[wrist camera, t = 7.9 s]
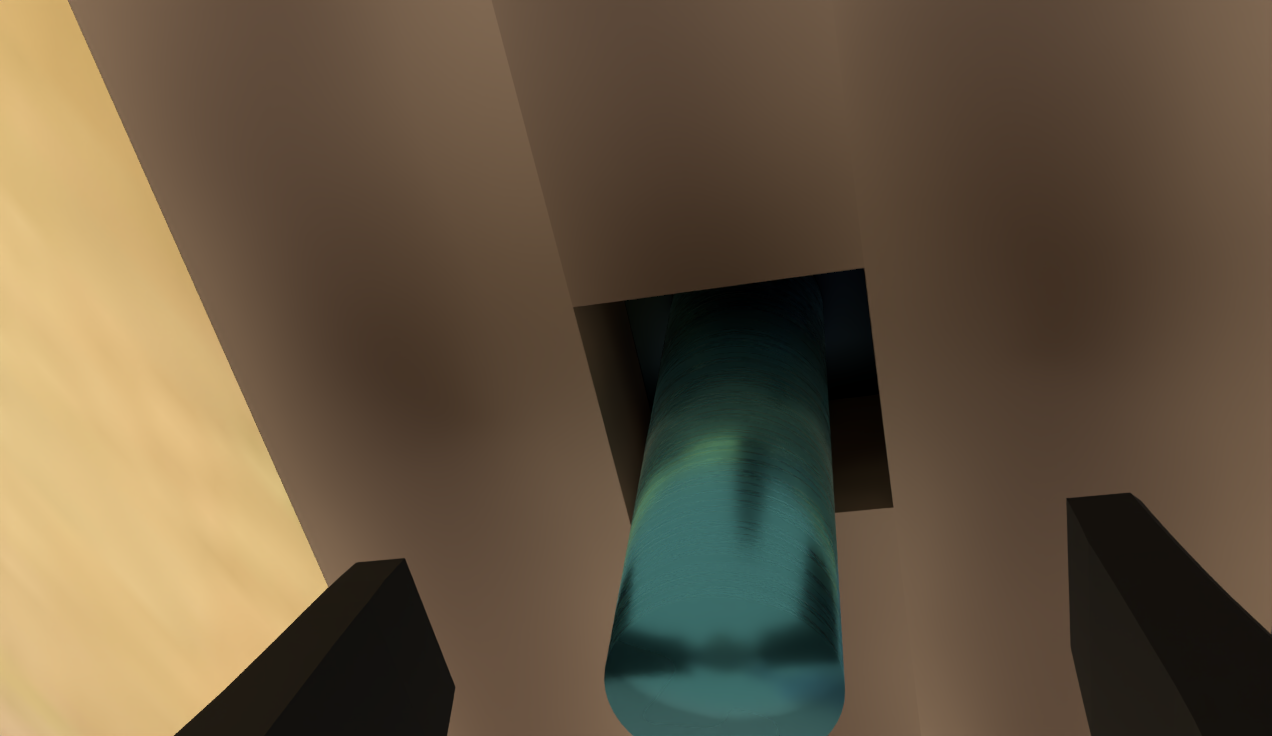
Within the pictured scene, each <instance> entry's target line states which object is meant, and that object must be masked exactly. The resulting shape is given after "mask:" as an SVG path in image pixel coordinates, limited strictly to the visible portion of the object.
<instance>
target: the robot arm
mask: <svg viewBox="0 0 1272 736" xmlns="http://www.w3.org/2000/svg"><path fill="white" fill-rule="evenodd" d="M1066 509H1067V543H1068V577H1069V612H1070V646H1071V652H1072V656H1073V660H1074V665H1075V669H1076V674H1077V678H1078V682H1079V687H1080V691H1081V696H1082V700H1083V704H1084V708H1085V712H1086V717H1087V721H1088V725H1089V729H1090V733H1091V736H1272V634H1270V633H1269V632H1268V631H1267V630H1266V629H1265V628H1264V627H1263V626H1262V625H1261V624H1260V623H1259V622H1258V621H1257V620H1256V619H1255V618H1253V617H1252V616H1251V615H1250V614H1249V613H1248V612H1247V611H1246V610H1245V609H1244V608H1243V607H1242V606H1241V605H1240V604H1239V603H1238V602H1236V601H1235V600H1234V599H1233V598H1232V597H1231V596H1230V595H1229V594H1228V593H1227V592H1226V591H1225V590H1224V589H1223V588H1222V587H1221V586H1220V585H1219V584H1218V583H1217V582H1216V581H1215V580H1214V579H1213V578H1212V577H1211V576H1210V575H1209V574H1208V573H1207V572H1206V571H1205V570H1204V569H1203V568H1202V566H1201V565H1200V564H1199V563H1198V562H1197V561H1196V560H1195V559H1194V558H1193V557H1192V556H1191V555H1190V554H1189V553H1188V552H1187V551H1186V550H1185V549H1184V548H1183V547H1182V546H1181V545H1180V543H1179V542H1178V541H1177V540H1176V539H1175V538H1174V537H1173V536H1172V535H1171V534H1170V533H1169V532H1168V530H1167V529H1166V528H1165V527H1164V526H1163V525H1162V524H1161V523H1160V522H1159V520H1158V519H1157V518H1156V517H1155V516H1154V515H1153V514H1152V513H1151V511H1150V510H1149V509H1148V508H1147V507H1146V506H1145V504H1144V503H1143V502H1142V501H1141V500H1139V499H1138V498H1137V497H1136V496H1134V495H1133V494H1132V493H1130V492H1129V493H1118V494H1107V495H1096V496H1085V497H1074V498H1066ZM454 693H455V684H454V682H453V679H452V677H451V674H450V672H449V669H448V667H447V664H446V662H445V659H444V656H443V654H442V651H441V649H440V646H439V644H438V641H437V639H436V636H435V633H434V631H433V628H432V626H431V623H430V621H429V618H428V616H427V613H426V610H425V608H424V605H423V603H422V600H421V598H420V595H419V593H418V590H417V588H416V585H415V582H414V580H413V577H412V575H411V572H410V570H409V567H408V565H407V562H406V559H405V558H399V559H388V560H377V561H366V562H356V563H355V564H354V565H353V566H351V567H350V568H349V569H348V570H347V571H346V572H345V573H343V574H342V575H341V576H340V577H339V578H338V579H337V580H336V581H335V582H334V583H333V584H332V585H331V586H330V587H329V588H327V589H326V590H325V591H324V592H323V593H322V594H321V595H320V596H319V597H318V598H317V599H316V600H315V601H314V602H313V603H312V604H311V605H310V606H309V607H308V608H307V609H306V610H305V611H304V612H303V613H302V614H301V615H300V616H299V617H298V618H297V619H296V620H295V621H294V622H293V623H292V624H291V625H290V626H289V627H288V628H287V629H286V630H285V631H284V632H283V633H282V634H281V635H280V636H279V637H278V638H277V639H276V640H275V641H274V642H273V643H272V644H271V645H270V646H269V647H268V648H267V649H266V650H265V651H264V652H263V653H262V654H261V655H260V656H259V657H257V658H256V659H255V660H254V661H253V662H252V663H251V664H250V665H249V666H248V667H247V668H246V669H245V670H244V671H243V672H242V673H241V674H240V675H239V676H238V677H237V678H236V679H235V680H234V681H233V682H232V683H231V684H230V685H229V686H228V687H227V688H226V689H225V690H224V691H223V692H222V693H220V694H219V695H218V696H217V697H216V698H215V699H214V700H213V701H212V702H211V703H209V704H208V705H207V706H206V707H205V708H204V709H203V710H202V711H201V712H200V713H198V714H197V715H196V716H195V717H194V718H193V719H192V720H191V721H190V722H189V723H187V724H186V725H185V726H184V727H183V728H182V729H181V730H180V731H179V732H178V733H176V734H175V735H174V736H447V734H448V728H449V723H450V717H451V711H452V705H453V699H454Z"/></svg>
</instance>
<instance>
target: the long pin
mask: <svg viewBox="0 0 1272 736" xmlns="http://www.w3.org/2000/svg"><path fill="white" fill-rule="evenodd" d="M604 684H605V692H606V695H607V699H608V702H609V704H610V706H611V708H612V710H613V712H614V714H615V715H616V717H617V718H618V720H619V721H620V723H621V724H622V725H623V726H624V727H625V728H626V729H627V731H628V732H629V733H631V734H632V735H633V736H827V735H828V734H829V733H830V732H831V731H832V729H833V728H834V726H835V725H836V723H837V722H838V720H839V717H840V715H841V713H842V709H843V705H844V701H845V679H844V662H843V644H842V627H841V609H840V592H839V575H838V557H837V540H836V523H835V505H834V488H833V470H832V453H831V436H830V418H829V401H828V383H827V366H826V349H825V331H824V314H823V302H822V296H821V292H820V289H819V286H818V284H817V282H816V280H815V278H814V277H813V275H808V276H800V277H793V278H785V279H778V280H771V281H763V282H756V283H749V284H741V285H734V286H727V287H719V288H712V289H704V290H697V291H690V292H682V293H675V294H673V299H672V304H671V309H670V315H669V320H668V326H667V331H666V337H665V342H664V348H663V353H662V359H661V364H660V370H659V375H658V381H657V386H656V392H655V397H654V402H653V408H652V413H651V419H650V424H649V430H648V435H647V441H646V446H645V452H644V457H643V463H642V468H641V474H640V479H639V484H638V490H637V495H636V501H635V506H634V512H633V517H632V523H631V528H630V534H629V539H628V545H627V550H626V556H625V561H624V567H623V572H622V577H621V583H620V588H619V594H618V599H617V605H616V610H615V616H614V621H613V627H612V632H611V638H610V643H609V649H608V654H607V659H606V665H605V673H604Z"/></svg>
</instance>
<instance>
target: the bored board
mask: <svg viewBox="0 0 1272 736" xmlns="http://www.w3.org/2000/svg"><path fill="white" fill-rule="evenodd" d="M68 2H69V4H70V6H71V9H72V11H73V13H74V15H75V18H76V20H77V22H78V24H79V27H80V29H81V31H82V33H83V36H84V38H85V40H86V42H87V45H88V47H89V49H90V51H91V54H92V56H93V58H94V60H95V63H96V65H97V67H98V69H99V72H100V74H101V76H102V78H103V81H104V83H105V85H106V87H107V90H108V92H109V94H110V96H111V99H112V101H113V103H114V105H115V108H116V110H117V112H118V114H119V117H120V119H121V121H122V123H123V126H124V128H125V130H126V132H127V135H128V137H129V139H130V141H131V144H132V146H133V148H134V150H135V153H136V155H137V157H138V159H139V162H140V164H141V166H142V168H143V171H144V173H145V175H146V177H147V180H148V182H149V184H150V186H151V189H152V191H153V193H154V195H155V198H156V200H157V202H158V204H159V207H160V209H161V211H162V213H163V216H164V218H165V220H166V222H167V225H168V227H169V229H170V231H171V234H172V236H173V238H174V240H175V243H176V245H177V247H178V249H179V252H180V254H181V256H182V258H183V261H184V263H185V265H186V267H187V270H188V272H189V274H190V276H191V279H192V281H193V283H194V285H195V288H196V290H197V292H198V294H199V297H200V299H201V301H202V303H203V306H204V308H205V310H206V312H207V315H208V317H209V319H210V321H211V324H212V326H213V328H214V330H215V333H216V335H217V337H218V339H219V342H220V344H221V346H222V348H223V351H224V353H225V355H226V357H227V360H228V362H229V364H230V366H231V369H232V371H233V373H234V375H235V378H236V380H237V382H238V384H239V387H240V389H241V391H242V393H243V396H244V398H245V400H246V402H247V405H248V407H249V409H250V411H251V414H252V416H253V418H254V420H255V423H256V425H257V427H258V430H259V432H260V434H261V436H262V439H263V441H264V443H265V445H266V448H267V450H268V452H269V454H270V457H271V459H272V461H273V463H274V466H275V468H276V470H277V472H278V475H279V477H280V479H281V481H282V484H283V486H284V488H285V490H286V493H287V495H288V497H289V499H290V502H291V504H292V506H293V508H294V511H295V513H296V515H297V517H298V520H299V522H300V524H301V526H302V529H303V531H304V533H305V535H306V538H307V540H308V542H309V544H310V547H311V549H312V551H313V553H314V556H315V558H316V560H317V562H318V565H319V567H320V569H321V571H322V574H323V576H324V578H325V580H326V583H327V585H328V587H330V586H331V585H332V584H333V583H334V582H335V581H336V580H337V579H338V578H339V577H340V576H341V575H342V574H343V573H345V572H346V571H347V570H348V569H349V568H350V567H351V566H353V565H354V564H355V563H356V562H366V561H377V560H388V559H399V558H405V559H406V562H407V565H408V567H409V570H410V572H411V575H412V577H413V580H414V582H415V585H416V588H417V590H418V593H419V595H420V598H421V600H422V603H423V605H424V608H425V610H426V613H427V616H428V618H429V621H430V623H431V626H432V628H433V631H434V633H435V636H436V639H437V641H438V644H439V646H440V649H441V651H442V654H443V656H444V659H445V662H446V664H447V667H448V669H449V672H450V674H451V677H452V679H453V682H454V684H455V693H454V699H453V705H452V711H451V717H450V723H449V728H448V734H447V736H633V735H632V734H631V733H629V732H628V731H627V729H626V728H625V727H624V726H623V725H622V724H621V723H620V721H619V720H618V718H617V717H616V715H615V714H614V712H613V710H612V708H611V706H610V704H609V702H608V699H607V695H606V692H605V684H604V673H605V665H606V659H607V654H608V649H609V643H610V638H611V632H612V627H613V621H614V616H615V610H616V605H617V599H618V594H619V588H620V583H621V577H622V572H623V567H624V561H625V556H626V550H627V545H628V539H629V534H630V528H631V523H632V517H633V512H634V506H635V501H636V495H637V490H638V484H639V479H640V474H641V468H642V463H643V457H644V452H645V446H646V441H647V435H648V430H649V424H650V419H651V411H650V406H649V402H648V398H647V394H646V390H645V385H644V381H643V377H642V373H641V369H640V365H639V360H638V356H637V352H636V348H635V344H634V340H633V335H632V331H631V327H630V323H629V319H628V314H627V310H626V306H625V302H624V300H631V299H638V298H646V297H653V296H660V295H668V294H675V293H682V292H690V291H697V290H704V289H712V288H719V287H727V286H734V285H741V284H749V283H756V282H763V281H771V280H778V279H785V278H793V277H800V276H808V275H815V274H822V273H830V272H837V271H844V270H852V269H859V268H864V275H865V283H866V291H867V300H868V308H869V316H870V324H871V332H872V341H873V349H874V357H875V365H876V374H877V382H878V390H879V395H870V396H861V397H852V398H843V399H835V400H828V401H829V418H830V436H831V453H832V470H833V488H834V505H835V523H836V540H837V557H838V575H839V592H840V609H841V627H842V644H843V662H844V679H845V701H844V705H843V709H842V713H841V715H840V717H839V720H838V722H837V723H836V725H835V726H834V728H833V729H832V731H831V732H830V733H829V734H828V735H827V736H1091V733H1090V729H1089V725H1088V721H1087V717H1086V712H1085V708H1084V704H1083V700H1082V696H1081V691H1080V687H1079V682H1078V678H1077V674H1076V669H1075V665H1074V660H1073V656H1072V652H1071V646H1070V612H1069V577H1068V543H1067V509H1066V498H1074V497H1085V496H1096V495H1107V494H1118V493H1129V492H1130V493H1132V494H1133V495H1134V496H1136V497H1137V498H1138V499H1139V500H1141V501H1142V502H1143V503H1144V504H1145V506H1146V507H1147V508H1148V509H1149V510H1150V511H1151V513H1152V514H1153V515H1154V516H1155V517H1156V518H1157V519H1158V520H1159V522H1160V523H1161V524H1162V525H1163V526H1164V527H1165V528H1166V529H1167V530H1168V532H1169V533H1170V534H1171V535H1172V536H1173V537H1174V538H1175V539H1176V540H1177V541H1178V542H1179V543H1180V545H1181V546H1182V547H1183V548H1184V549H1185V550H1186V551H1187V552H1188V553H1189V554H1190V555H1191V556H1192V557H1193V558H1194V559H1195V560H1196V561H1197V562H1198V563H1199V564H1200V565H1201V566H1202V568H1203V569H1204V570H1205V571H1206V572H1207V573H1208V574H1209V575H1210V576H1211V577H1212V578H1213V579H1214V580H1215V581H1216V582H1217V583H1218V584H1219V585H1220V586H1221V587H1222V588H1223V589H1224V590H1225V591H1226V592H1227V593H1228V594H1229V595H1230V596H1231V597H1232V598H1233V599H1234V600H1235V601H1236V602H1238V603H1239V604H1240V605H1241V606H1242V607H1243V608H1244V609H1245V610H1246V611H1247V612H1248V613H1249V614H1250V615H1251V616H1252V617H1253V618H1255V619H1256V620H1257V621H1258V622H1259V623H1260V624H1261V625H1262V626H1263V627H1264V628H1265V629H1266V630H1267V631H1268V632H1269V633H1270V634H1271V629H1272V0H68Z"/></svg>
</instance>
